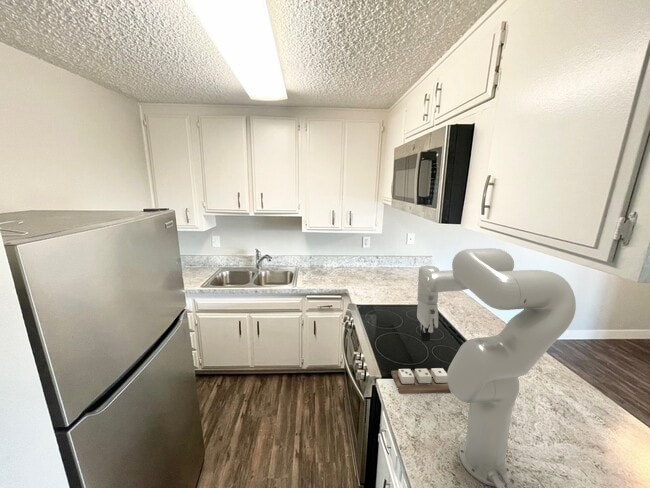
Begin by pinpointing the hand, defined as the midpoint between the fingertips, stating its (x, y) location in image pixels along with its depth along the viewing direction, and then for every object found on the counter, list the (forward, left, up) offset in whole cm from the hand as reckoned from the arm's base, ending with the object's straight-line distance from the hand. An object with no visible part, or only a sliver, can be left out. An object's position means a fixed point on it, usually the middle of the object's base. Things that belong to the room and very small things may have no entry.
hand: (425, 340), depth 104 cm
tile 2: (0, 0, -17) cm, 17 cm away
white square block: (0, +7, -17) cm, 19 cm away
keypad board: (0, 0, -19) cm, 19 cm away
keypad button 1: (0, -7, -17) cm, 19 cm away
